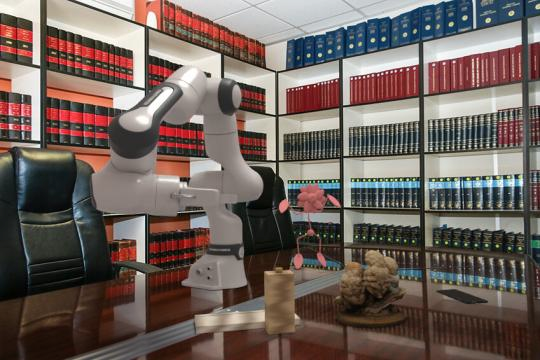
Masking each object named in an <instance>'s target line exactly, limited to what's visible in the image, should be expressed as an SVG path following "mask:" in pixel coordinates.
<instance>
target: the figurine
mask: <svg viewBox="0 0 540 360" xmlns="http://www.w3.org/2000/svg"><path fill="white" fill-rule="evenodd" d="M299 190H300V192H301V193H299V194H298V195H297V199H298V202H297V207H298V208H302V207H303V211H301V212H296V211H295V210H294V209H293V208H292V206H291V205H290V203H289V201H288V200H287V199H286V198H285V199H284V200H281V202H280V203H279V205H278V206H279V207H278V210H279V211H280V214H283V213H284V212H286V211H287V210H288V208H289V209H291V211H292V212H293V214H294V215H295V216H297V215H301V214H303V213H305V214H307V221H308V224H309V228H310V229H308V230H307V233H306V234H303V235H302V236H299V237H297V238H296V244H297V254H295V256H294V257H293V264H294V267H295V269H296V270H299V269H300V268H301V267H302V266H303V263H304V258H303V254H301V253H300V249H299V247H300V246H299V239H301V238H303V237H305V236H310V237H312V236H316V237H317V238H318V239H319V250H321V245H322V243H321V242H322V241H321V237H320V236H319V235H317V234H316V233H315V231H314V229H312V225H311V220H310V213H312V214H314V215H315V214H316V213H322V211H323V210H324V207H325V205H326V203H327V201H328V199H329V201H330V202H331V204H333V205H334V206H336V207H337V208H340V209H341V208H342V207H341V206H342V205H341V204H340V202H339V201H338V199H336V197H334V196H332V195H330V194H327V195H326V196H327V197H326V196H324V194H325V189H323V188H321V189H320V185H319V184H318V183H314V185H313V184H311V183H307V185H306V186H300V188H299ZM316 256H317V261H316V262H317V263H316V267H318V266H319V263H320V265H322V266H323V267H324V268H327V264H326V263H327V262H326V259H325V257H324V256H323V254H322V253H321V252H317V254H316ZM336 270H338V268H337V269H334V270H333V272H335V271H336ZM330 272H332V270H331V271H328V273H330ZM324 273H326V271H324V272H322V271H321V272H319V274H324Z"/></svg>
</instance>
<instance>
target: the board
mask: <svg viewBox="0 0 540 360" xmlns="http://www.w3.org/2000/svg"><path fill="white" fill-rule="evenodd" d="M300 325H301V318H300V316H299V315H297V314H296V313H295V326H300ZM194 326H195V333H196V334H197V335H198V334H199V335H200V334H206V333H220V332H234V331H243V330H255V329H256V330H257V329H265V309H263V310H261V309H260V310H248V311H233V312H219V313H207V314H195V315H194Z"/></svg>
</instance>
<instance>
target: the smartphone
mask: <svg viewBox="0 0 540 360" xmlns="http://www.w3.org/2000/svg"><path fill="white" fill-rule="evenodd" d="M436 293H438V294H440V295H442V296H446V297H448V298H451V299H452V300H455V301H457V302H461V303H464V304H465V305H474V304H475V305H476V303H478V304H488V303H489V301H488V300H486V299H485V298H481V297H479V296H475V295H473V294H470V293H468V292H464V291H462V290H459V289H457V288H450V289H437V290H436Z"/></svg>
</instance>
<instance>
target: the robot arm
mask: <svg viewBox="0 0 540 360" xmlns="http://www.w3.org/2000/svg"><path fill="white" fill-rule="evenodd" d="M242 96H243V95H242V89H241V87H240V84H238V82H237V81H236V80H235V79H233V78H228V77H223V78H218V77H207V75H206V73H205V72H204V71H203V70H202V69H201V68H199V67H197V66H195V65H192V64H191V65H189V64H188V65H183V66H181V67H180V68H177V70H175V71H174V72H173V73H171V74H170V76H169V77H167V78H166V80H165V81H163V82H161V83H159V84H157V85H155V87H154V88H153V89H151V90H150V91H149V92H148V93H147V94H146V95H144V97H143V98H141V99H140V100H139V101H138V102H137V103H136V104H135V105H133V106H132V107H130V108H128V109H127V110H125V111H123V112H121V113H119V114H117V115H116V116H114V118H112V119H111V120H110V122H109V123H108V126H107V135H108V142H109V148H110V150H109V151H110V152H109V153H110V157H109V159H108V161H107V162H106V164H105V165H103V167H102V168H101V169H99V170H98V171H97V172H94V173H92V174H91V175H90V178H89V192H90V200H91V205H92V206H93V207H94V209H96V210H98V211H100V212H103V213H109V214H116V215H118V214H119V215H137V214H148V215H149V216H150V215H151V216H155V217H157V216H159V217H177V216H178V213H179V212H185V211H186V208H187V207H199V208H200V207H202V208H203V211H204V212H205V214H206V216H207V221H208V225H209V226H208V227H209V243H207V244H205V245H203V246H202V247H204V248H202V249H203V250H205V254H203V255H202V256H201V257H200V258H199V259H197V260H196V261H195V262H194V263H193V264H191V266H190V268H189V271H188V277H187V278H185V279H184V280H182V281H181V286H184V287H190V288H197V289H202V290H209V291H220V290H227V289H229V290H230V289H236V288H241V287H245V286H247V285H248V280H247V277H246V272H245V271H246V270H245V265H244V256H245V255H244V254H245V249H244V248H245V246H244V241H243V222H242V219H241V218H240V217H239V216H238V215H237V214H235V213H233V212H231V211H230V210H228V209H227V208H226V204H233V205H235V204H237V203H245V202H252V201H256V200H259V198H260V196H261V195H262V193H263V191H264V181H263V179H262V176H261V175H260V174H259V173H258V172H257V171H255V170H254V169H252V168H251V167H250V166H249V165H248V164H247V162H246V161H245V159H244V157H243V155H242V153H241V148H240V142H239V133H238V132H239V131H238V122H237V116H236V112H238V110H239V109H240V107H241V104H242V99H243V98H242ZM194 116H202V117H203V119H202V122H203V139H204V146H205V154H206V155H207V157H208V158H209V160H211V161H213V162H215V163H217V164H219V165H220V166H221V167H222V168H223V170H204V171H200V172H196V173H193V175H192V176H191V177H190V179H189V181H188V182H186V181H180V180H181V179H180V176H179V175H168V174H156V168H157V155H158V154H157V153H158V142H159V137H160V126H161V123H162V122H163V121H164V122H165V123H167V124H170V125H184V124H186V123H188V122H189V121H190V120H191V119H192V118H193V117H194Z"/></svg>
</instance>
